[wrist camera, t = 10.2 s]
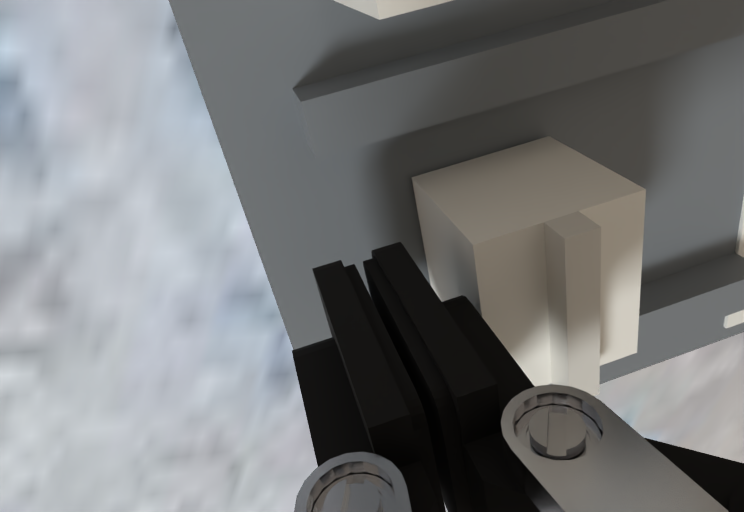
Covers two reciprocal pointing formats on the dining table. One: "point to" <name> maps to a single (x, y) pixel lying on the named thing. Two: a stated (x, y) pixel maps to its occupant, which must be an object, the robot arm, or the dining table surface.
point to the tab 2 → (540, 255)
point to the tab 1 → (389, 6)
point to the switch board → (481, 132)
